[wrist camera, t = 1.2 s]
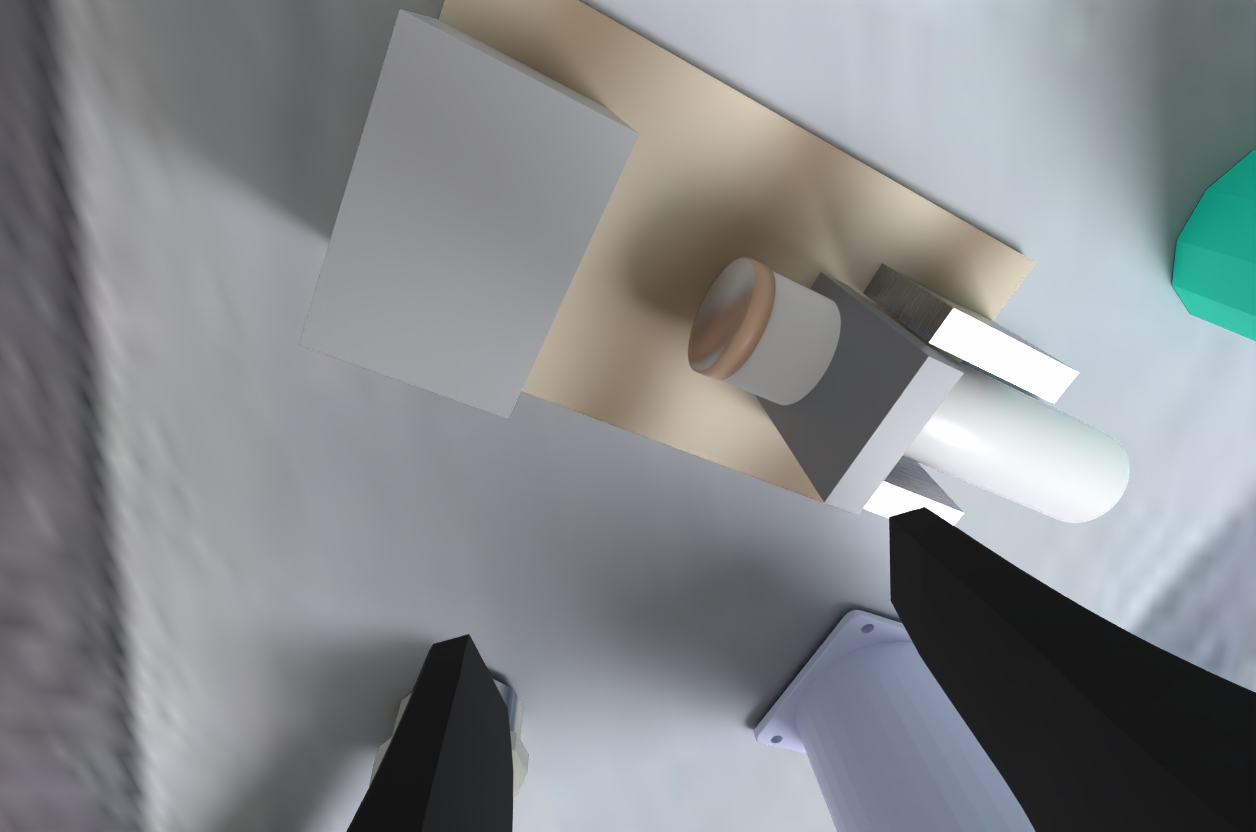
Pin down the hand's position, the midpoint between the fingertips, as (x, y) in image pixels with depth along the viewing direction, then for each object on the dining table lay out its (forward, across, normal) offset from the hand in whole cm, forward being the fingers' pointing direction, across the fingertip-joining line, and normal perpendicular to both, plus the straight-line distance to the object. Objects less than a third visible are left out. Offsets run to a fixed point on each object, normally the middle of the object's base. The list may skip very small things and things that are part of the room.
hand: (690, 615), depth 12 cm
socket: (+11, +2, -5) cm, 13 cm away
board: (+11, -3, -1) cm, 11 cm away
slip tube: (+10, -9, +3) cm, 13 cm away
